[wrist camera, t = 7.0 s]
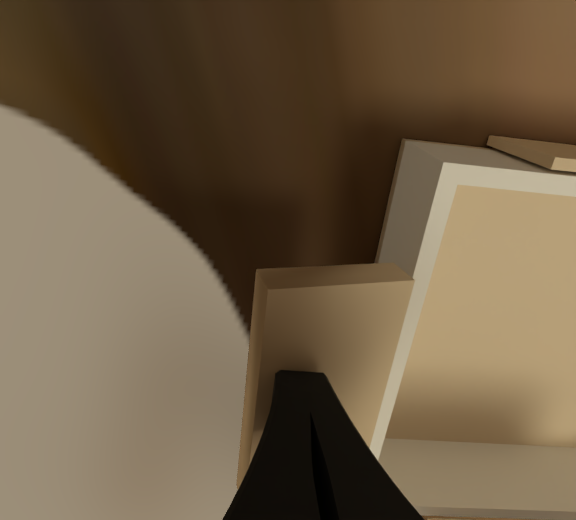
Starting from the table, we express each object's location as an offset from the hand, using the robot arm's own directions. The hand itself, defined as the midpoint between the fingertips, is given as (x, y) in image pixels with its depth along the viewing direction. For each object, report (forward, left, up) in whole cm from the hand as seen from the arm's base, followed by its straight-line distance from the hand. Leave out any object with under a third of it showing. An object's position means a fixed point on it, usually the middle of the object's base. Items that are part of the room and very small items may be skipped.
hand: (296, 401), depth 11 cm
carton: (-9, +1, -5) cm, 11 cm away
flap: (-1, +1, 0) cm, 1 cm away
